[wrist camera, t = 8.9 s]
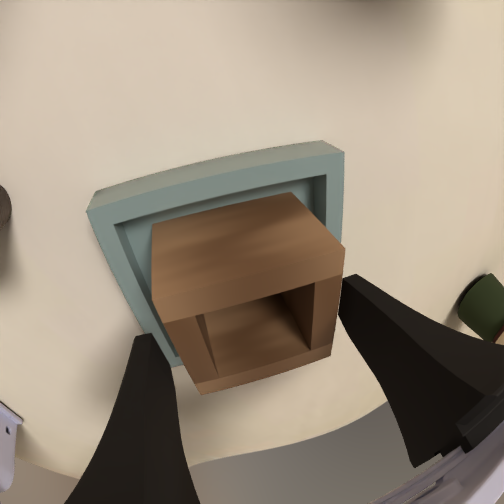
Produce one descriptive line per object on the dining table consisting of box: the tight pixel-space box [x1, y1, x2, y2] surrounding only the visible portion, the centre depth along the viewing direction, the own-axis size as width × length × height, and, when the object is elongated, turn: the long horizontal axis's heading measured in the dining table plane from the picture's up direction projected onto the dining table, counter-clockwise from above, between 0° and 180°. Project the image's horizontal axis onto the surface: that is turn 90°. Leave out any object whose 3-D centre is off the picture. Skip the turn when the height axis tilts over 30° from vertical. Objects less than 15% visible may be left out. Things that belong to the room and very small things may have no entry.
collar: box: [151, 192, 345, 395], centre depth 12 cm, size 6×6×4 cm
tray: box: [86, 140, 344, 367], centre depth 13 cm, size 10×10×2 cm
